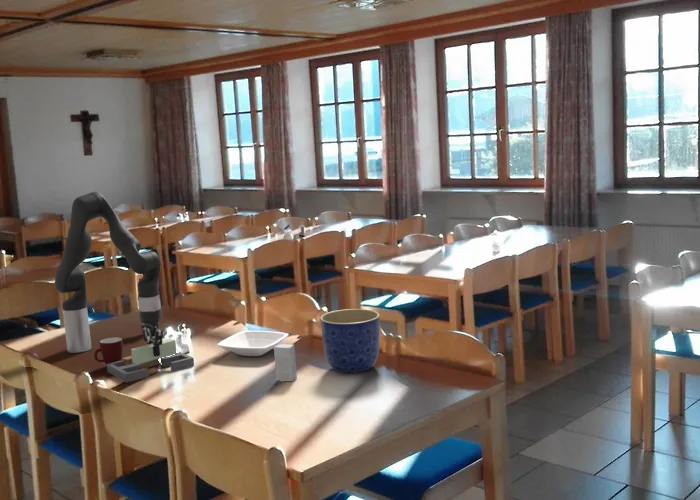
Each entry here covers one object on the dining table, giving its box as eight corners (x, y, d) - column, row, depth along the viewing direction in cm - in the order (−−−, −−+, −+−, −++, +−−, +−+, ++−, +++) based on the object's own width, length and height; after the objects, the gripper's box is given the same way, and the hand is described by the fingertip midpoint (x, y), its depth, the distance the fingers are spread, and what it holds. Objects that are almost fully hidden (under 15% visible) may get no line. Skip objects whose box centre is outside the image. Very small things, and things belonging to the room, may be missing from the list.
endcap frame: (107, 371, 298) (106, 363, 298) (173, 356, 314) (172, 348, 313) (126, 382, 284) (125, 374, 284) (194, 365, 300) (193, 357, 299)
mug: (100, 372, 298) (97, 346, 296) (92, 367, 304) (89, 341, 303) (128, 366, 304) (125, 340, 302) (120, 361, 310) (117, 336, 309)
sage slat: (132, 362, 290) (131, 349, 290) (171, 351, 301) (170, 338, 301) (137, 364, 288) (136, 350, 287) (176, 353, 299) (175, 340, 298)
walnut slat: (124, 371, 299) (122, 358, 298) (162, 360, 309) (161, 347, 309) (128, 373, 296) (127, 359, 295) (167, 362, 307) (166, 349, 306)
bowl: (213, 360, 306) (211, 345, 305) (243, 343, 327) (242, 329, 326) (266, 364, 297) (265, 349, 296) (294, 346, 318) (293, 332, 317)
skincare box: (297, 378, 279) (294, 344, 277) (292, 382, 275) (290, 347, 273) (280, 377, 281) (278, 343, 279) (275, 381, 277) (273, 347, 275)
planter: (394, 366, 287) (391, 313, 284) (354, 382, 272) (351, 326, 269) (351, 356, 301) (348, 306, 298) (310, 371, 286) (307, 318, 283)
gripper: (131, 307, 295) (136, 353, 298) (148, 313, 284) (152, 361, 287) (151, 303, 299) (155, 348, 302) (168, 309, 288) (172, 356, 291)
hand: (154, 354), depth 294 cm, fingers closed on sage slat, 3 cm apart
